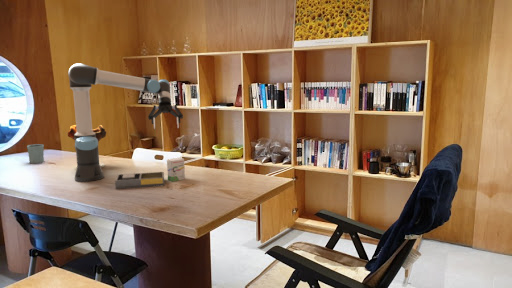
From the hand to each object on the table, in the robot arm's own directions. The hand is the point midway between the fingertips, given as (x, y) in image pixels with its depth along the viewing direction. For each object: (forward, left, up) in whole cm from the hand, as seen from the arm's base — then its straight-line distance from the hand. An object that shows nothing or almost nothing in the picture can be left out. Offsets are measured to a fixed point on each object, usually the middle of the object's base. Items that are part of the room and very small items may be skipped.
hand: (166, 127), depth 232 cm
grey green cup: (-87, +59, -28) cm, 109 cm away
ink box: (+4, -17, -28) cm, 33 cm away
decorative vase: (-49, +33, -28) cm, 65 cm away
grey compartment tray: (-15, -22, -28) cm, 39 cm away
